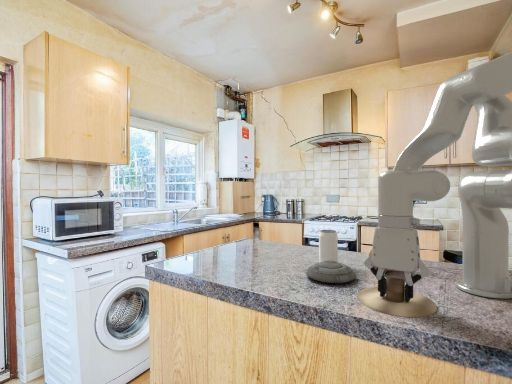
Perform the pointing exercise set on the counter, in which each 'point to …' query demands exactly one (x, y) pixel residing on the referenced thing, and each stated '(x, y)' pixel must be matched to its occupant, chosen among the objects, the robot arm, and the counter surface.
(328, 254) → the can
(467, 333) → the counter surface
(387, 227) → the robot arm
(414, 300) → the lid
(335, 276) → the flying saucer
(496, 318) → the counter surface
